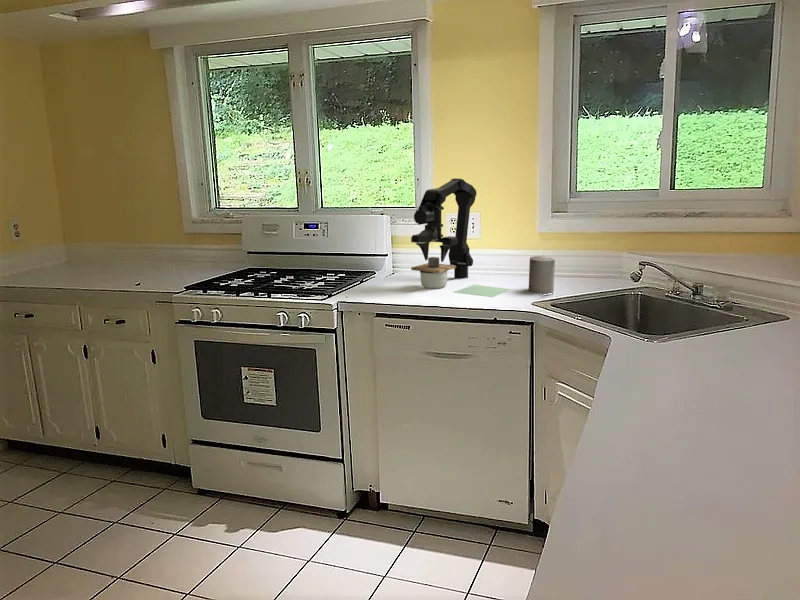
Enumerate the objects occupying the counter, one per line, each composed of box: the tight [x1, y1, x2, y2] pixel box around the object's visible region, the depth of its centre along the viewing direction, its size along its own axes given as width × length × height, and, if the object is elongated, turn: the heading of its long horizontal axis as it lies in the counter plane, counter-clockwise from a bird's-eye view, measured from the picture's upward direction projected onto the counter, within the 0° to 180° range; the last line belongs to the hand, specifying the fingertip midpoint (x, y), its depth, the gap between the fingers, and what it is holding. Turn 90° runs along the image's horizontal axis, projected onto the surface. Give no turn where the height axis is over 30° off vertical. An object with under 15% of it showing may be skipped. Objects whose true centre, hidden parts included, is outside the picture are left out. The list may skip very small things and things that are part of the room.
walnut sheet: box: [411, 256, 456, 273], centre depth 275 cm, size 13×13×4 cm
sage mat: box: [454, 284, 513, 298], centre depth 268 cm, size 17×17×1 cm
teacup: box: [419, 271, 448, 290], centre depth 277 cm, size 14×11×8 cm
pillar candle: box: [527, 254, 556, 294], centre depth 265 cm, size 10×10×15 cm
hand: (434, 261), depth 275 cm, fingers open, 7 cm apart
